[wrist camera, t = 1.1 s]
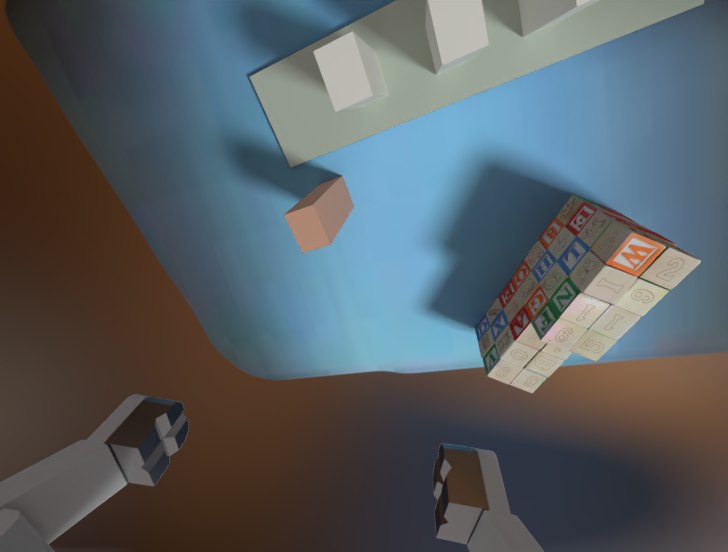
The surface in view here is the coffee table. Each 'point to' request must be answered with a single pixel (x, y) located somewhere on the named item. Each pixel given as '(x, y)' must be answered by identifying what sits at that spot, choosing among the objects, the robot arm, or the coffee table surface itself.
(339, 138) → the mat
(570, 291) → the stack of blocks
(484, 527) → the robot arm
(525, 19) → the domino
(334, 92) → the domino
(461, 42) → the domino
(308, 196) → the domino
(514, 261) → the coffee table surface
